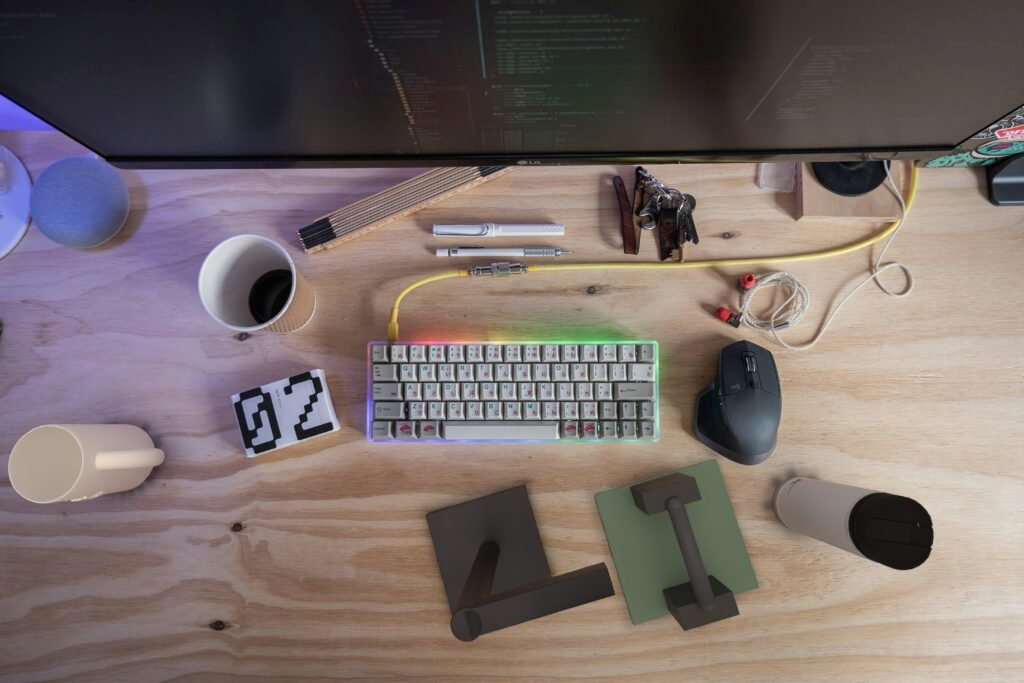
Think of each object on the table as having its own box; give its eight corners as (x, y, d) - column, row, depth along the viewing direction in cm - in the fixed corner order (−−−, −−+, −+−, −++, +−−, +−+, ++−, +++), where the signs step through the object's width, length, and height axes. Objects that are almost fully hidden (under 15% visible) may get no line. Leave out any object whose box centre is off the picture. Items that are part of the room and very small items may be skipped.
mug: (187, 490, 72) (120, 503, 60) (89, 494, 72) (3, 507, 61) (189, 421, 73) (124, 421, 61) (93, 425, 74) (10, 425, 62)
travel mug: (771, 472, 71) (866, 490, 51) (828, 480, 70) (945, 501, 51) (767, 526, 70) (861, 566, 50) (824, 535, 69) (942, 578, 50)
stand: (595, 573, 70) (637, 665, 43) (454, 615, 69) (408, 734, 43) (565, 472, 71) (587, 500, 45) (427, 512, 71) (366, 565, 44)
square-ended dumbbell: (718, 595, 68) (745, 619, 60) (668, 610, 68) (688, 636, 60) (678, 472, 71) (698, 478, 62) (629, 486, 70) (643, 494, 62)
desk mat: (758, 586, 69) (759, 587, 68) (633, 624, 69) (633, 625, 68) (715, 459, 71) (716, 459, 71) (594, 495, 71) (594, 495, 70)
